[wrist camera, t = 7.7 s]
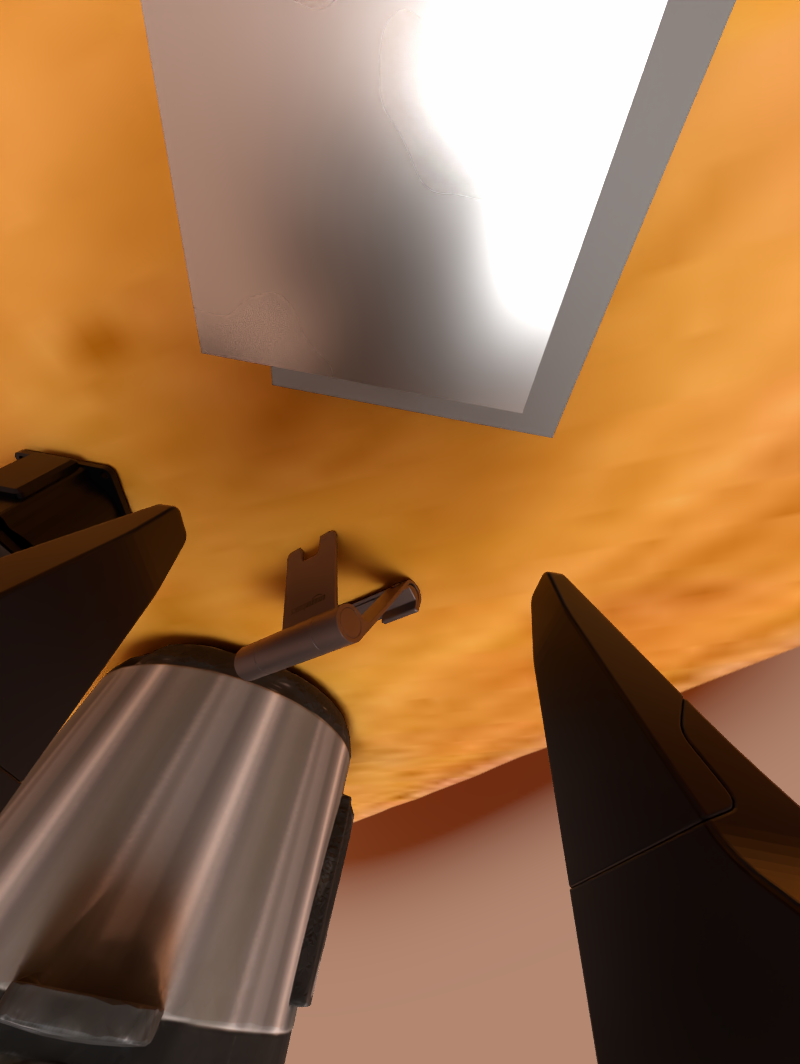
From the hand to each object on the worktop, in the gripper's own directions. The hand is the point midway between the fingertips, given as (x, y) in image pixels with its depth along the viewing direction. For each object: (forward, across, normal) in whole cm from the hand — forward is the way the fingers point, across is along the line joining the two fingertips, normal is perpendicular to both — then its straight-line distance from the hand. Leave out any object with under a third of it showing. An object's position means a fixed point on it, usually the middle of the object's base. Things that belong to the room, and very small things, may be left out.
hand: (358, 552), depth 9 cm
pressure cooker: (+13, +14, +38) cm, 42 cm away
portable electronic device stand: (+13, +3, +14) cm, 20 cm away
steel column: (+7, 0, -7) cm, 10 cm away
